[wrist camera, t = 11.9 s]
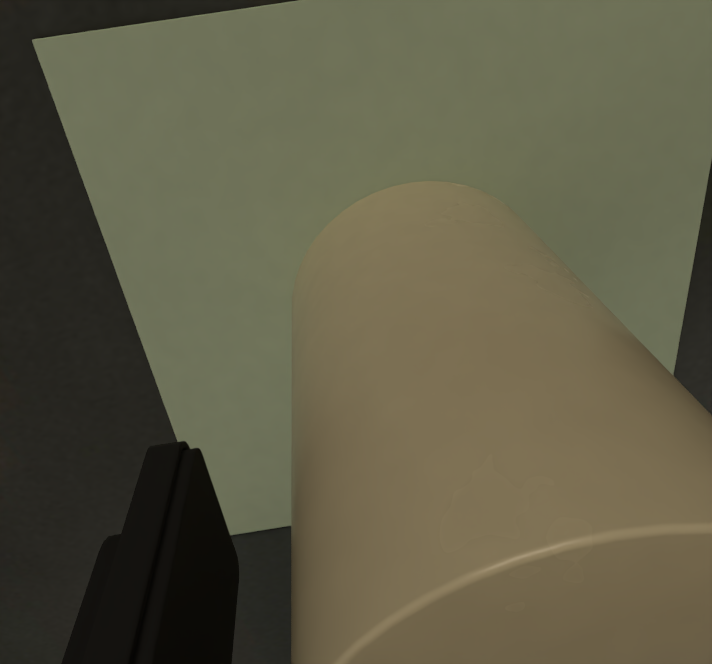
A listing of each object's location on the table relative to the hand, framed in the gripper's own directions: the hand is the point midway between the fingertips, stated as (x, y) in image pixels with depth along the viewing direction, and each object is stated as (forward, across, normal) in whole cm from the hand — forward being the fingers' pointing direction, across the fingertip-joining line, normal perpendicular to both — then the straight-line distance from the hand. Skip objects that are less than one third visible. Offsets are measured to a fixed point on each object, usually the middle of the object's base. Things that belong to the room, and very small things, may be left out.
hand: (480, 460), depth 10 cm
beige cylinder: (+6, 0, 0) cm, 6 cm away
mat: (+6, 0, 0) cm, 6 cm away
